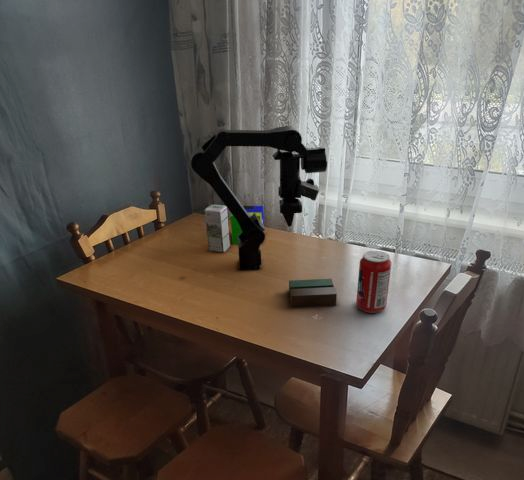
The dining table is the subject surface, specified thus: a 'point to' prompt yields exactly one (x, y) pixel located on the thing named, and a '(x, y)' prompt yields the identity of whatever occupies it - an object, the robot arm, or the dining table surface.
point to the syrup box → (217, 228)
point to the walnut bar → (313, 297)
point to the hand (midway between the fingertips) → (289, 226)
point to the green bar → (310, 283)
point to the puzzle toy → (236, 227)
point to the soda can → (373, 281)
